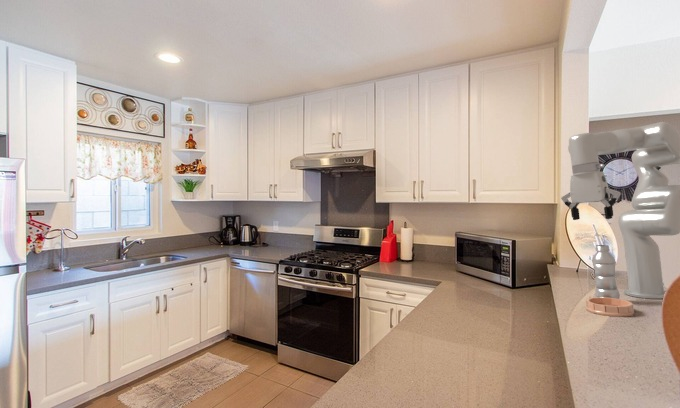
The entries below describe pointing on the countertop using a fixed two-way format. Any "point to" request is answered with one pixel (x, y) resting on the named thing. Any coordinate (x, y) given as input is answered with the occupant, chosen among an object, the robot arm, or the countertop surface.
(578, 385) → the countertop surface
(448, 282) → the countertop surface
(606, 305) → the round tray
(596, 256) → the plastic bottle
